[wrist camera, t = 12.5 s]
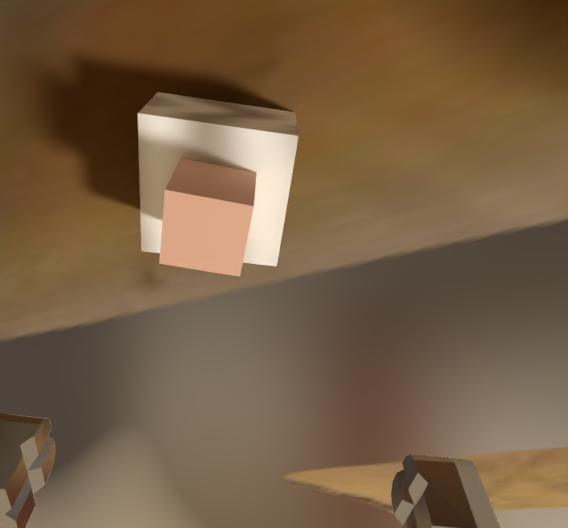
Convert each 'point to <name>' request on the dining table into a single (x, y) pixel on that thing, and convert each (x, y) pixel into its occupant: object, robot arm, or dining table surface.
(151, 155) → the base block
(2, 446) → the robot arm
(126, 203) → the dining table surface
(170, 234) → the terracotta block
